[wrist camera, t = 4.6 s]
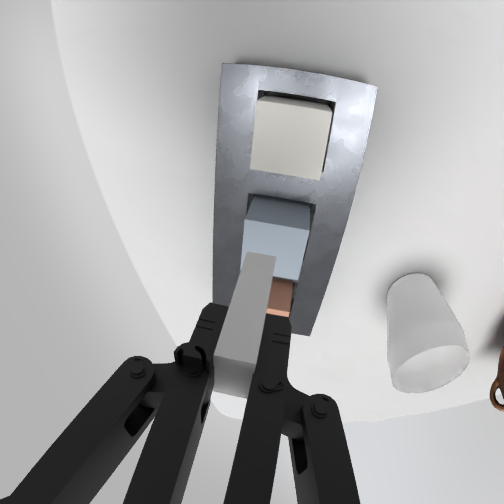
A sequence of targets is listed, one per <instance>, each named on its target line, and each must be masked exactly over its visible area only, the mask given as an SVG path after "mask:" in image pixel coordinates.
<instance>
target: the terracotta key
mask: <svg viewBox="0 0 504 504" xmlns="http://www.w3.org/2000/svg"><path fill="white" fill-rule="evenodd" d="M292 288H293V282H289V281H283V280H278V279H272V283H271V289H270V294H269V300H268V305H267V311H266V313H269V314H274V315H280V316H285V317H289V313H290V306H291V297H292Z"/></svg>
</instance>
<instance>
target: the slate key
mask: <svg viewBox="0 0 504 504" xmlns="http://www.w3.org/2000/svg"><path fill="white" fill-rule="evenodd" d="M309 231H310V203H306V202H301V201H295V200H290V199H284V198H278V197H272V196H266V195H259V194H255V196H254V198H253V200H252V203H251V205H250V208H249V210H248V213H247V215H246V217H245V221H244V233H243V244H242V256H241V267H240V270H241V269H242V266H243V263H244V259H245V256H246V253H247V251H248V252H254V253H259V254H265V255H270V256H276V261H275V267H274V272H273V276H276V277H281V278H287V279H293V280H298V278H299V274H300V270H301V265H302V261H303V257H304V253H305V249H306V244H307V240H308V235H309Z"/></svg>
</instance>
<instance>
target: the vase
mask: <svg viewBox="0 0 504 504" xmlns="http://www.w3.org/2000/svg"><path fill="white" fill-rule="evenodd" d="M498 388H500V390H501V393H502V396H503V399H504V347H503V349H502V351H501V354H500V358H499V364H498V373H497V377H496V379H495V381H494V382H493V384H492V386H491V390H490V400H491V402H492V404H493V406H494V407H495V408H497V409H498V410H500V411H504V405H502V404H499V402H498V401H497V400H496V396H495V392H496V390H497V389H498Z"/></svg>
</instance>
